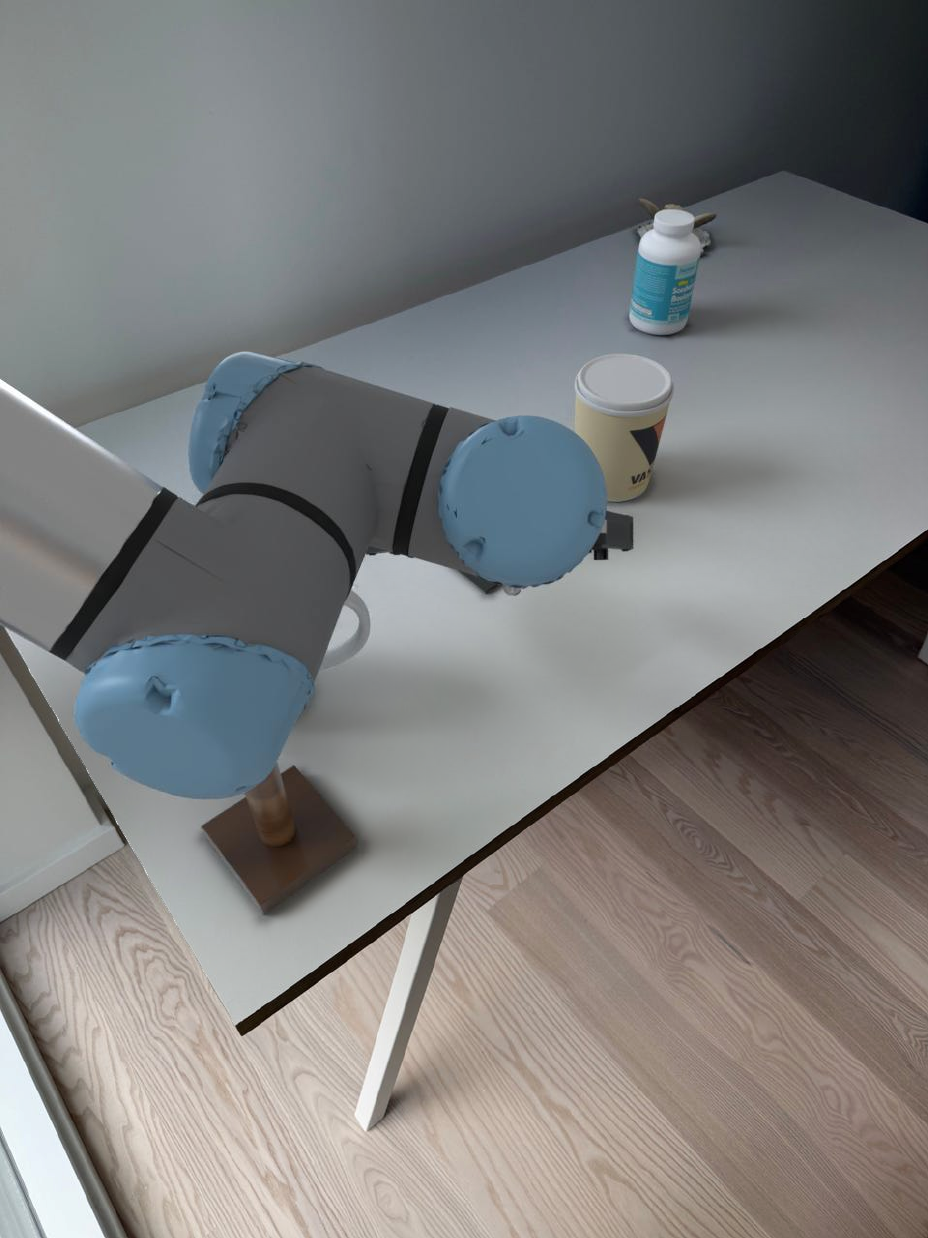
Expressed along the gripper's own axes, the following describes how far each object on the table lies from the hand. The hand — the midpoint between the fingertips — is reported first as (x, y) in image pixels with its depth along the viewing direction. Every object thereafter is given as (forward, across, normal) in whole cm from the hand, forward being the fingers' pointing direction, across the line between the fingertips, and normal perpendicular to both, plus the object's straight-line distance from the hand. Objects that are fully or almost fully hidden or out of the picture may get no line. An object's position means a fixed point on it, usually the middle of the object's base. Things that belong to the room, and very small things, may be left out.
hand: (494, 540), depth 75 cm
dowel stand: (-11, -16, -22) cm, 30 cm away
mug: (-1, -18, -12) cm, 22 cm away
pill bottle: (+41, +23, +30) cm, 56 cm away
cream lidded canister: (+19, +13, +7) cm, 24 cm away
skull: (+58, +29, +46) cm, 80 cm away
